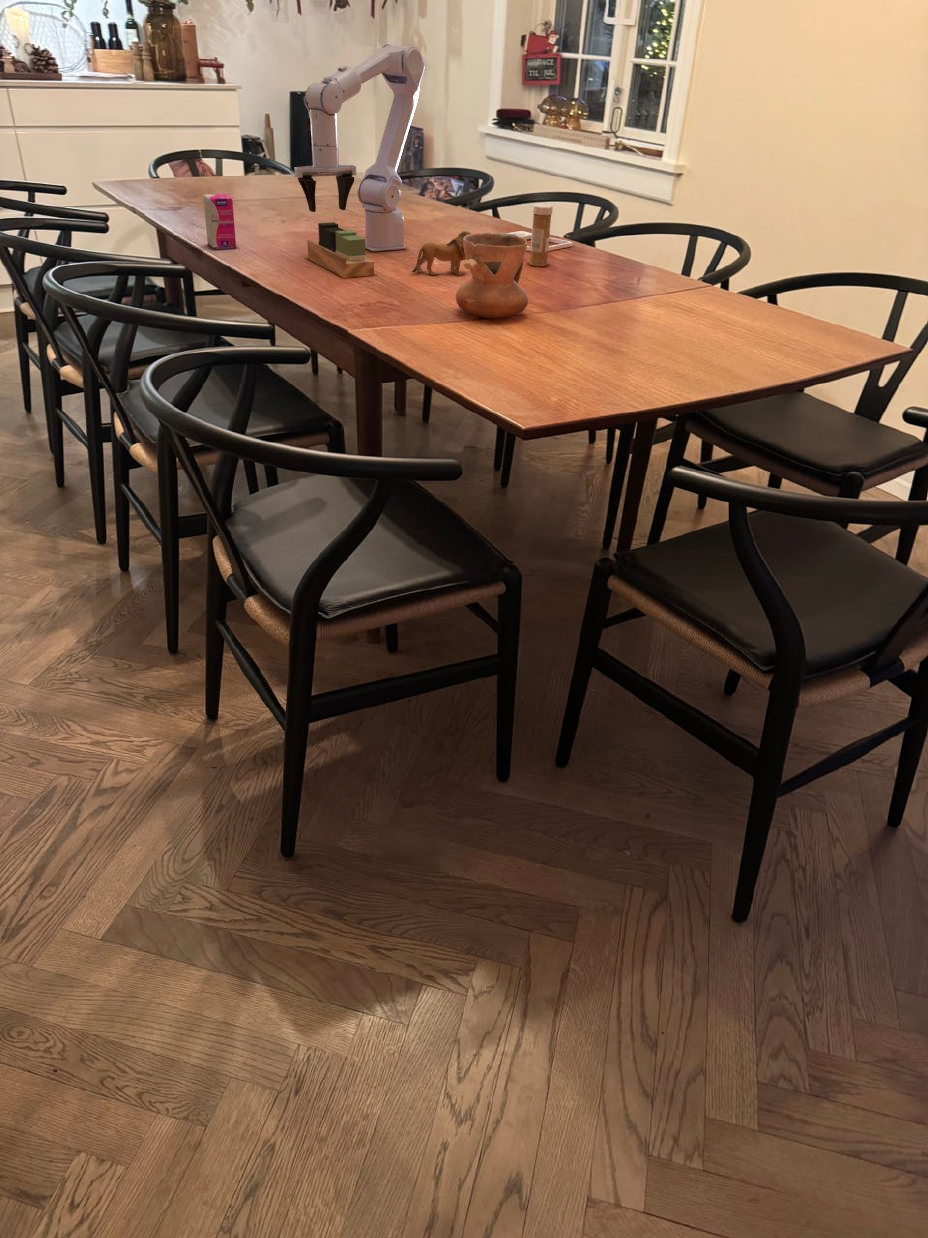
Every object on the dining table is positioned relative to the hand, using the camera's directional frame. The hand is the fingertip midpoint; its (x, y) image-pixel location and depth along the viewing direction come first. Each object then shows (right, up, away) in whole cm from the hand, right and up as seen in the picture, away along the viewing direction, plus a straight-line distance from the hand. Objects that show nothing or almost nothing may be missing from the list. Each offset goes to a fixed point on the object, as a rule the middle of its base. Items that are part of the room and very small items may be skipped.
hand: (327, 210), depth 207 cm
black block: (+1, -9, 0) cm, 9 cm away
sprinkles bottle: (+50, -10, +9) cm, 52 cm away
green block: (+6, -14, -6) cm, 16 cm away
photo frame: (+49, +4, +28) cm, 57 cm away
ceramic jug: (+38, -34, -29) cm, 59 cm away
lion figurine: (+27, -16, -3) cm, 32 cm away
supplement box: (-27, -4, +10) cm, 30 cm away
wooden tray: (+3, -14, -2) cm, 14 cm away
